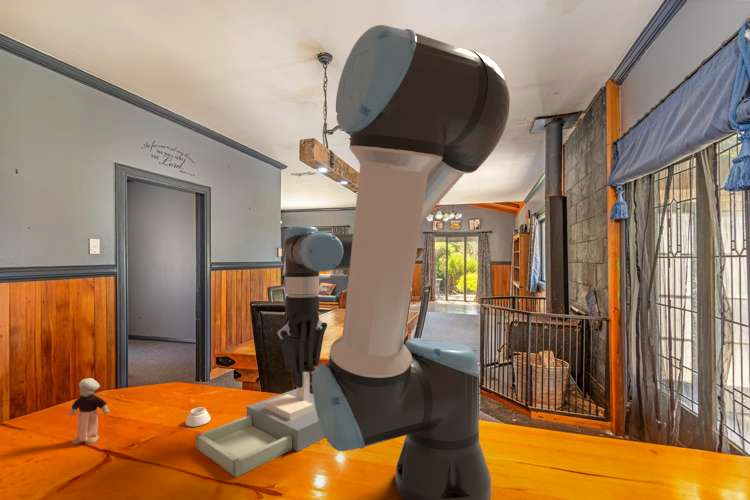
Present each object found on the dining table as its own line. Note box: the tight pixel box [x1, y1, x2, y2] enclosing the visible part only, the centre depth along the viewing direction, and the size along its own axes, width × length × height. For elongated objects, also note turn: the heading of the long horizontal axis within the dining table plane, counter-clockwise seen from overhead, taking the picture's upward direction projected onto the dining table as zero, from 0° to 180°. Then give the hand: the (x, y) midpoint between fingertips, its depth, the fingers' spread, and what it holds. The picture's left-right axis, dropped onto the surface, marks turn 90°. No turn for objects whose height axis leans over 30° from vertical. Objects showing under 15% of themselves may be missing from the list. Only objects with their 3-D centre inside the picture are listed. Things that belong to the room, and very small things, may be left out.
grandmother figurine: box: [69, 377, 110, 445], centre depth 76 cm, size 8×4×13 cm, turn 102°
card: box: [265, 394, 313, 420], centre depth 80 cm, size 9×6×1 cm, turn 49°
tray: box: [195, 415, 293, 478], centre depth 72 cm, size 15×12×2 cm
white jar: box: [185, 406, 211, 428], centre depth 83 cm, size 5×3×5 cm
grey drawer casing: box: [246, 388, 326, 452], centre depth 82 cm, size 18×14×4 cm
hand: (303, 400), depth 83 cm, fingers closed
